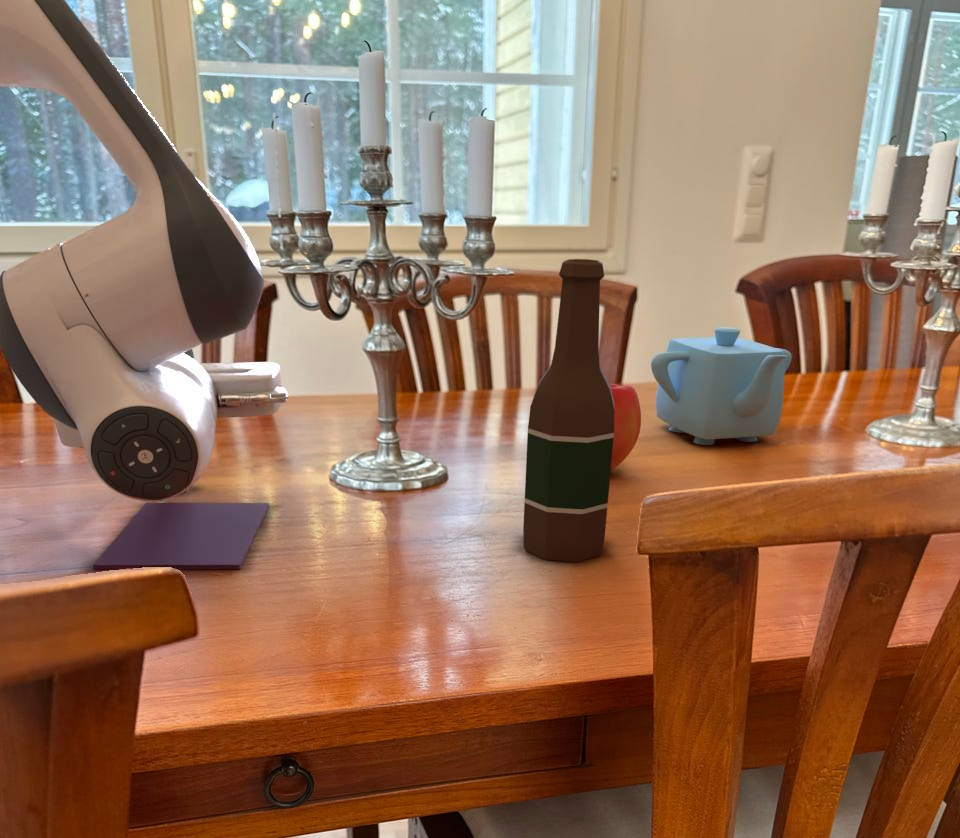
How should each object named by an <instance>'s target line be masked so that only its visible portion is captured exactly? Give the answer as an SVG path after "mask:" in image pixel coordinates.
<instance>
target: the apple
mask: <svg viewBox="0 0 960 838" xmlns="http://www.w3.org/2000/svg"><path fill="white" fill-rule="evenodd" d="M609 384H610V387H611V391H612V395H613V399H614V409H615V412H614V440H613V451H612V462H611V472H612V471H613V470H615V469H616V468H617V467H619V466H620V465H621V463H622V462H624V460H626V459H627V457H628V456H629V455H630V453H631V452H632V451H633V449H634V448H635V445H636V444H637V441H638V439H639V436H640V433H641V427H642V412H641V411H642V410H641V405H640V399H639V396H638V393H637V390H636V388H635V387H633V386H632V385H619V384H616V383H610V382H609Z"/></svg>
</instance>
